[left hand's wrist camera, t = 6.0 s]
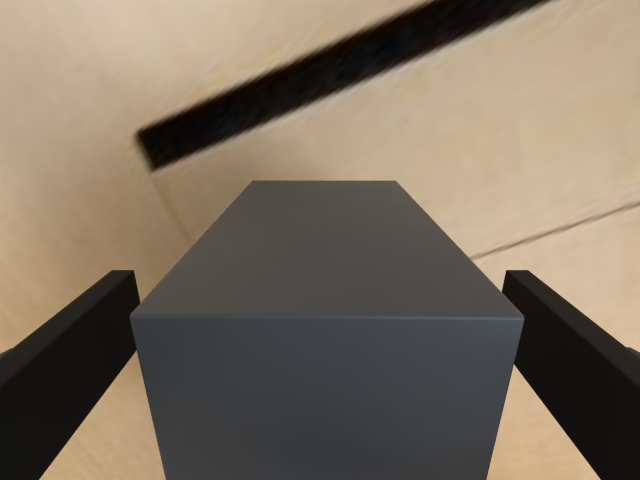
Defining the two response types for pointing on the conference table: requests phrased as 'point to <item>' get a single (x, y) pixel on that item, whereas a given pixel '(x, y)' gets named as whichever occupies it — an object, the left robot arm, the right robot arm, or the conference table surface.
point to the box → (326, 343)
